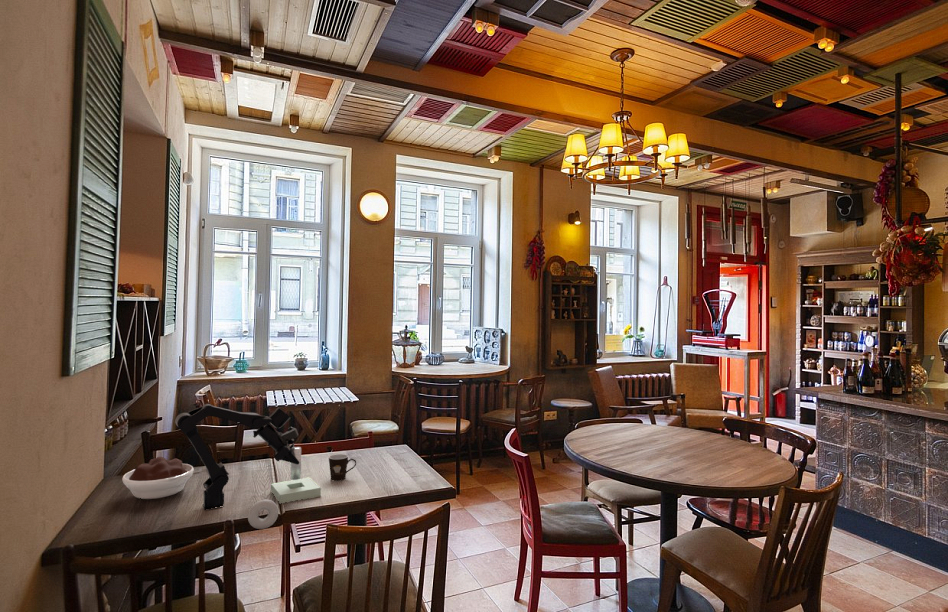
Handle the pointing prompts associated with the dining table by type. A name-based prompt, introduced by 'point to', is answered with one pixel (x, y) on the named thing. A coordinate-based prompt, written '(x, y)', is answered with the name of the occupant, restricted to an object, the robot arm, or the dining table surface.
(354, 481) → the dining table surface
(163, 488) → the bowl of chocolate pudding
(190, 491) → the dining table surface
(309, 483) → the socket block
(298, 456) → the steel pin
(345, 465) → the coffee mug
